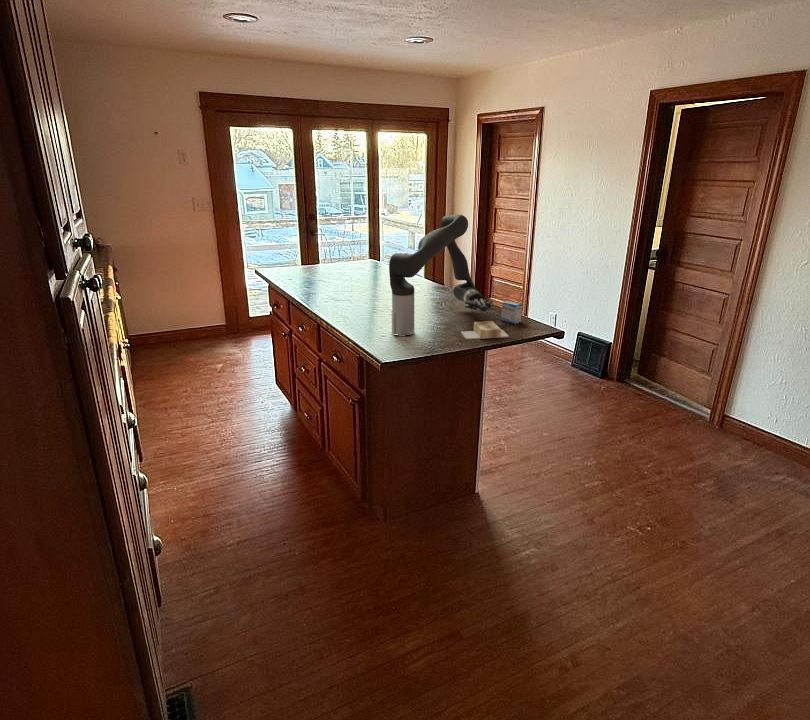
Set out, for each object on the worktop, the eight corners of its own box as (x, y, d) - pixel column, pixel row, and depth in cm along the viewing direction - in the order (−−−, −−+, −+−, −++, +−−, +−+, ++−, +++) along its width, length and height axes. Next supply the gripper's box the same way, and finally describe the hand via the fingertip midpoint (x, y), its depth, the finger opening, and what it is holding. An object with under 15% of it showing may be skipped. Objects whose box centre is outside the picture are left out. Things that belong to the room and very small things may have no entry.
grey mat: (466, 339, 210) (466, 338, 210) (460, 332, 218) (460, 331, 218) (508, 337, 212) (509, 336, 212) (502, 330, 221) (502, 329, 220)
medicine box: (500, 320, 234) (501, 302, 231) (506, 318, 237) (507, 300, 234) (515, 324, 229) (516, 305, 226) (521, 322, 232) (522, 303, 228)
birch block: (473, 329, 221) (481, 338, 209) (473, 321, 219) (481, 330, 208) (491, 328, 222) (500, 337, 211) (492, 320, 220) (501, 329, 209)
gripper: (459, 291, 230) (469, 301, 214) (488, 290, 232) (500, 300, 216) (459, 307, 233) (468, 318, 217) (487, 306, 235) (499, 317, 219)
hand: (484, 309), depth 217 cm, fingers closed
